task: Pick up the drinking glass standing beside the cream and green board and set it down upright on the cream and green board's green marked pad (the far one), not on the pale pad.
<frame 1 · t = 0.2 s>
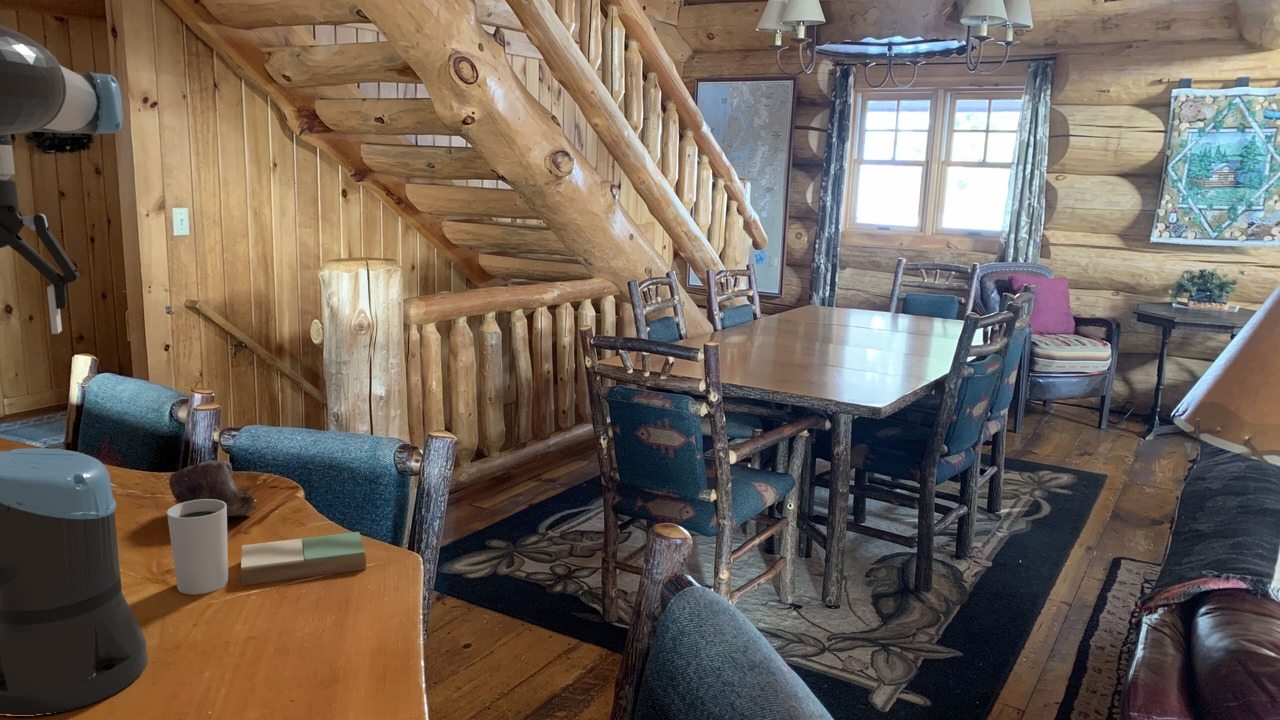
hand: (0, 334, 131), 28 cm above the table, tool pointing down, fingers open, 13 cm apart
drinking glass: (203, 585, 119), on the table
cream and green board: (303, 565, 125), on the table
rock: (211, 517, 142), on the table
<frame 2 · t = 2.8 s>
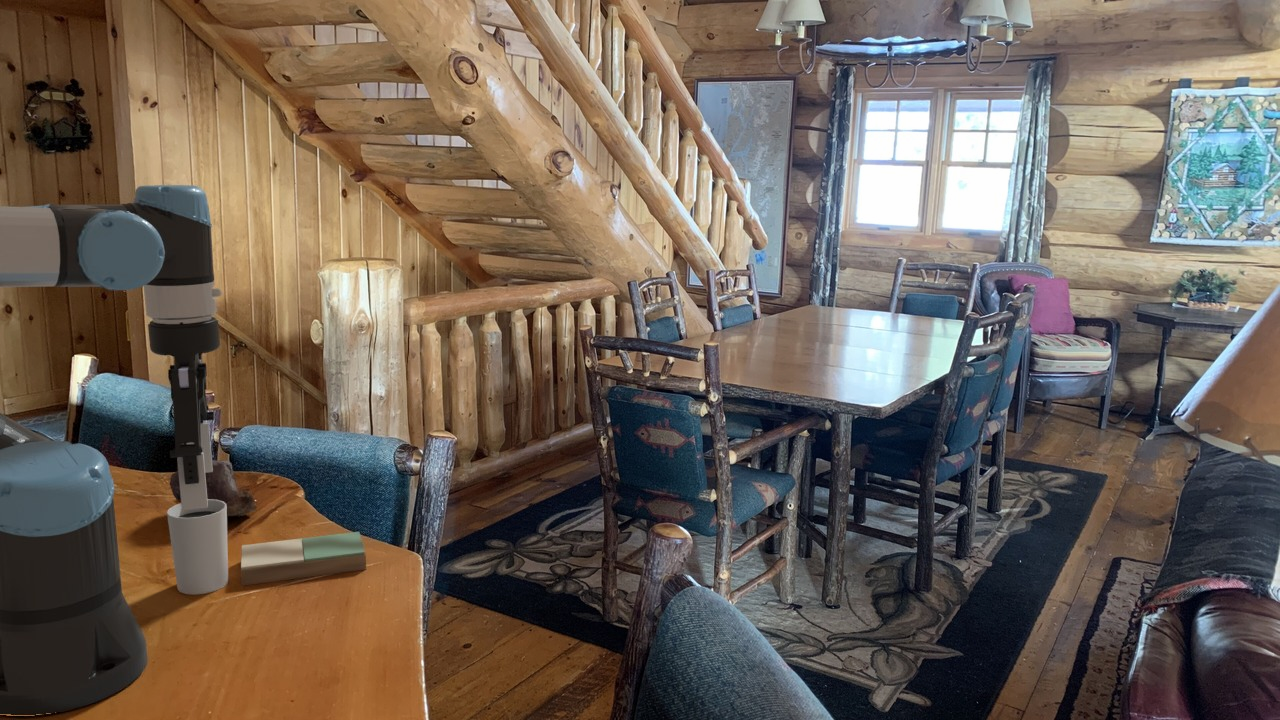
hand: (198, 489, 116), 12 cm above the table, tool pointing down, fingers open, 13 cm apart
nothing on the table moved.
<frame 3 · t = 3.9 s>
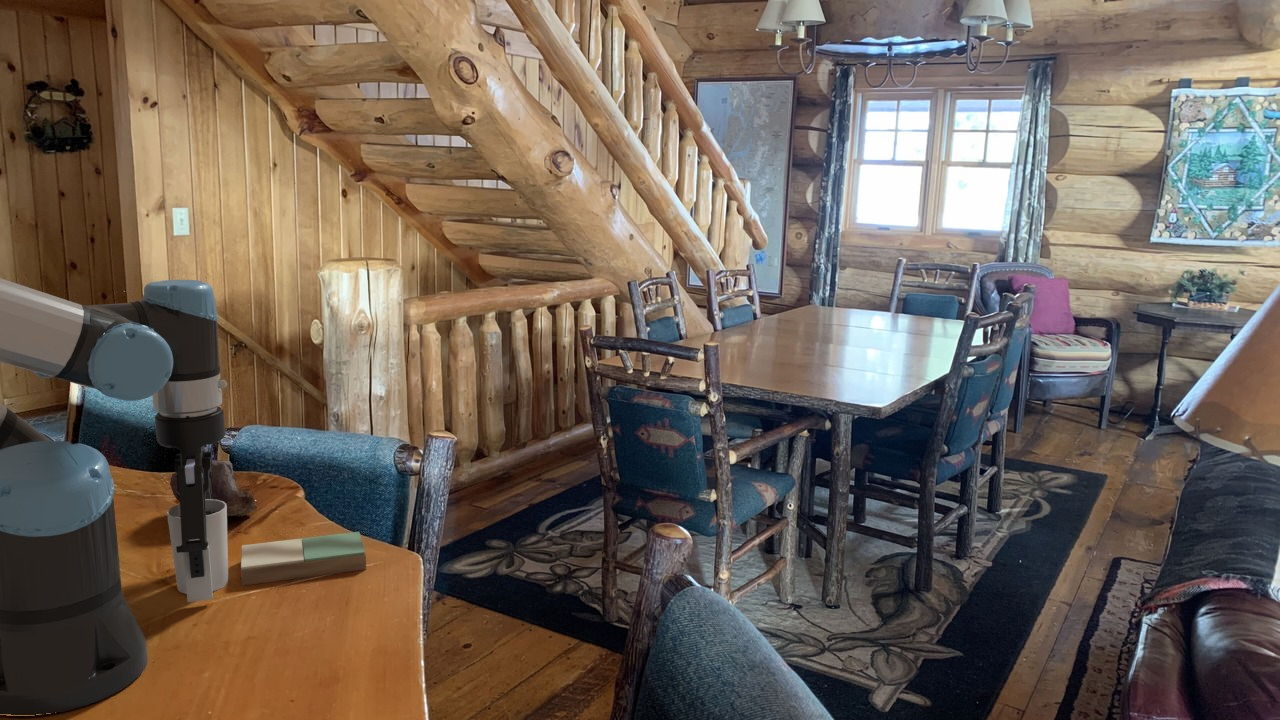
hand: (202, 579, 119), 1 cm above the table, tool pointing down, fingers open, 11 cm apart
nothing on the table moved.
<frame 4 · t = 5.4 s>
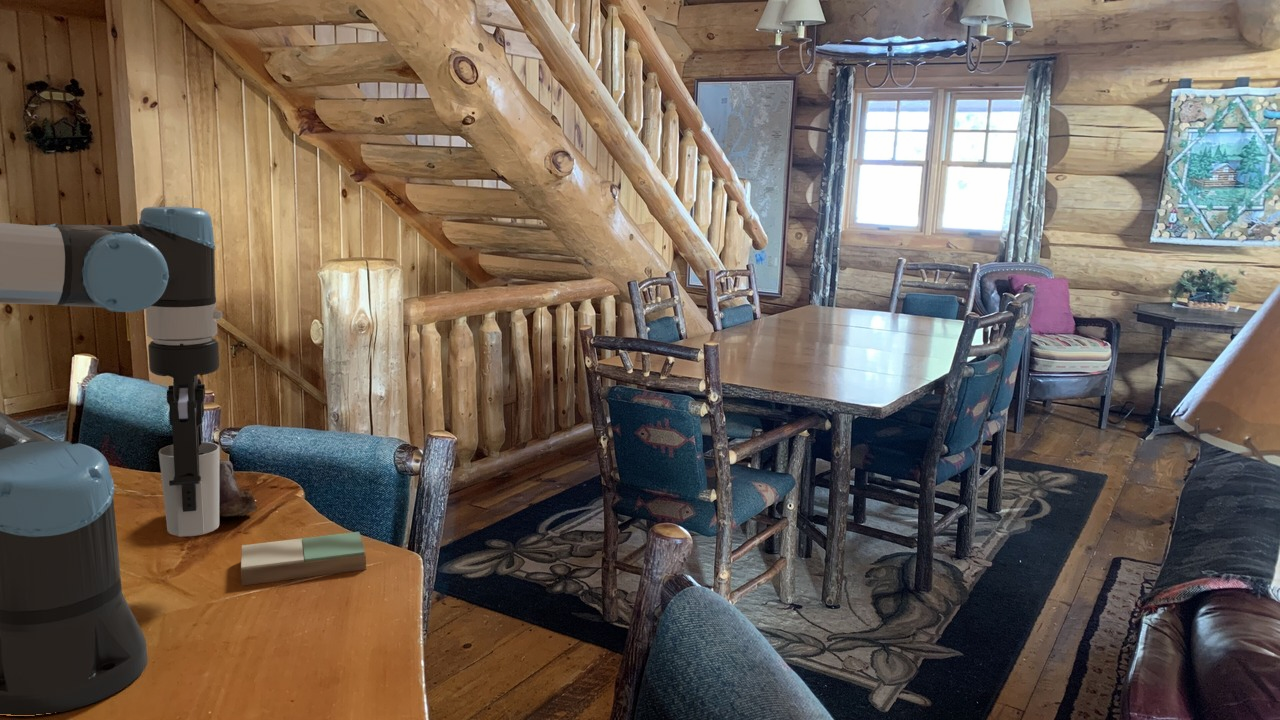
hand: (193, 524, 117), 8 cm above the table, tool pointing down, fingers closed on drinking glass, 6 cm apart
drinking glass: (193, 529, 117), point 7 cm above the table, touching gripper
everything else where it was.
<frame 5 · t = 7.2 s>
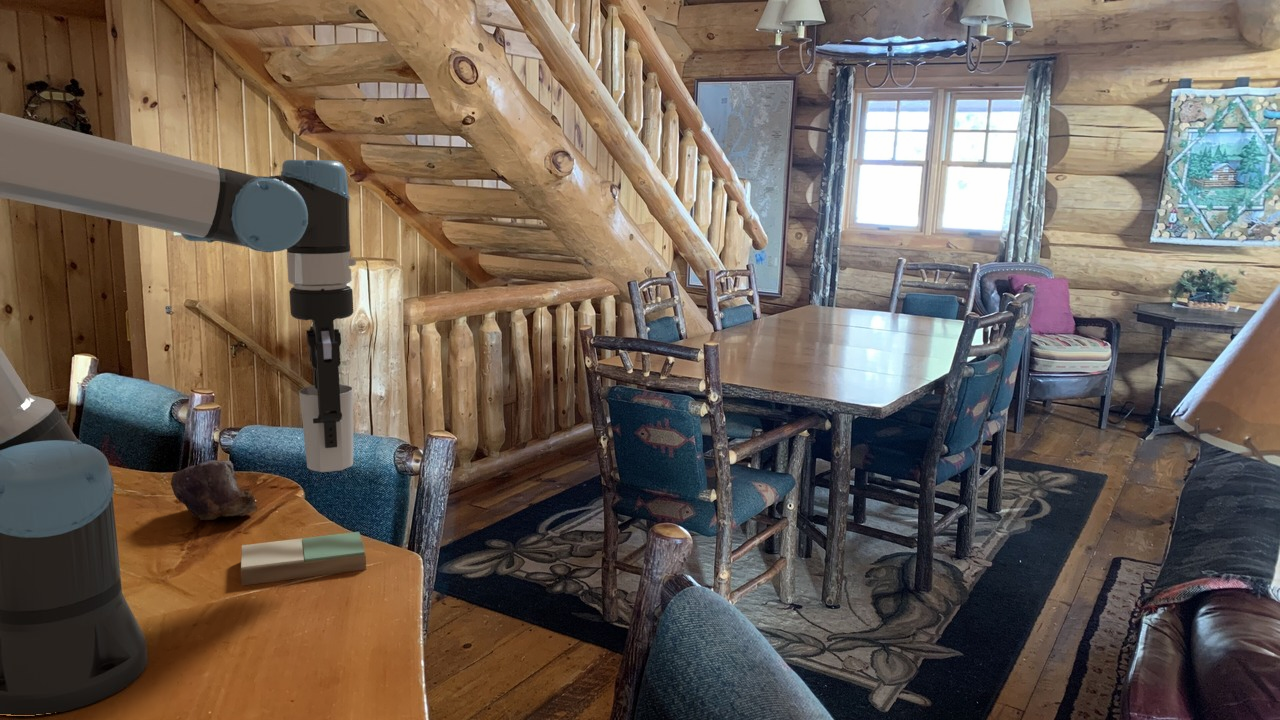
hand: (329, 462, 124), 14 cm above the table, tool pointing down, fingers closed on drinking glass, 6 cm apart
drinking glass: (330, 465, 124), point 13 cm above the table, touching gripper
everything else where it was.
when the fingers open (3 cm above the table, at t = 9.2 s): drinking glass stays where it is, resting on cream and green board.
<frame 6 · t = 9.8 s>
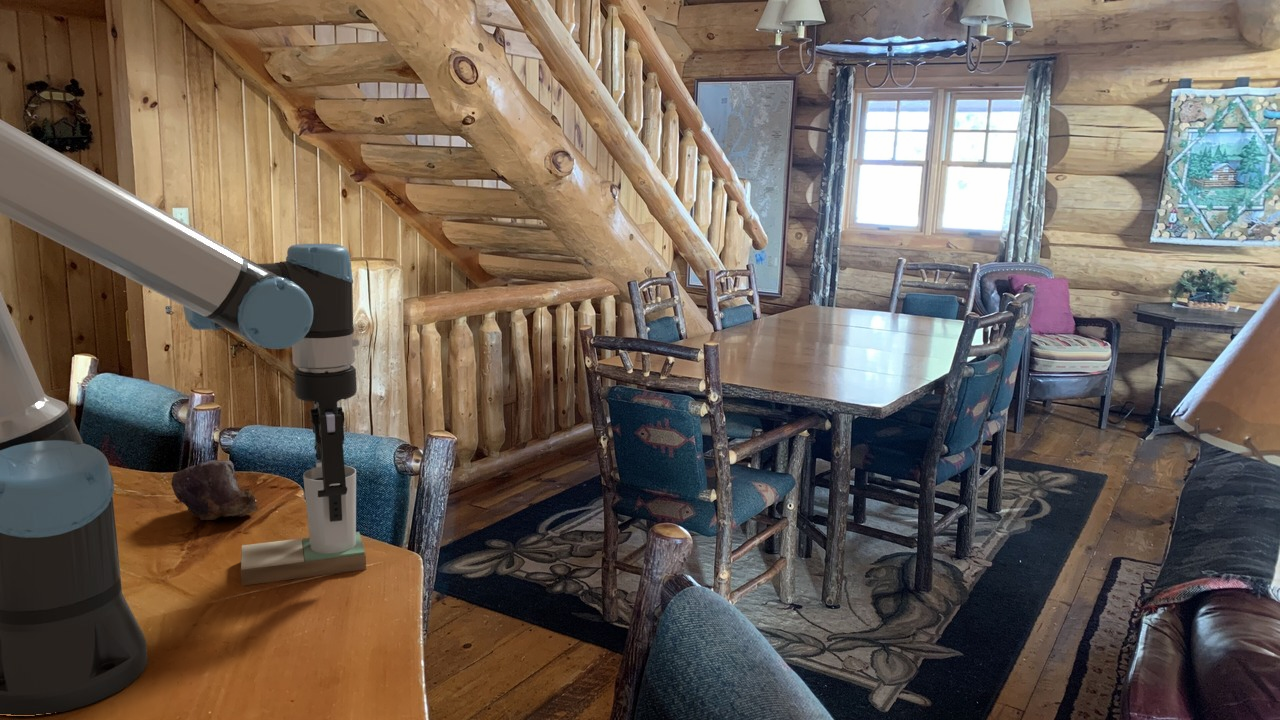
hand: (332, 524, 125), 5 cm above the table, tool pointing down, fingers open, 13 cm apart
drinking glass: (333, 546, 126), point 2 cm above the table, touching cream and green board
everything else where it was.
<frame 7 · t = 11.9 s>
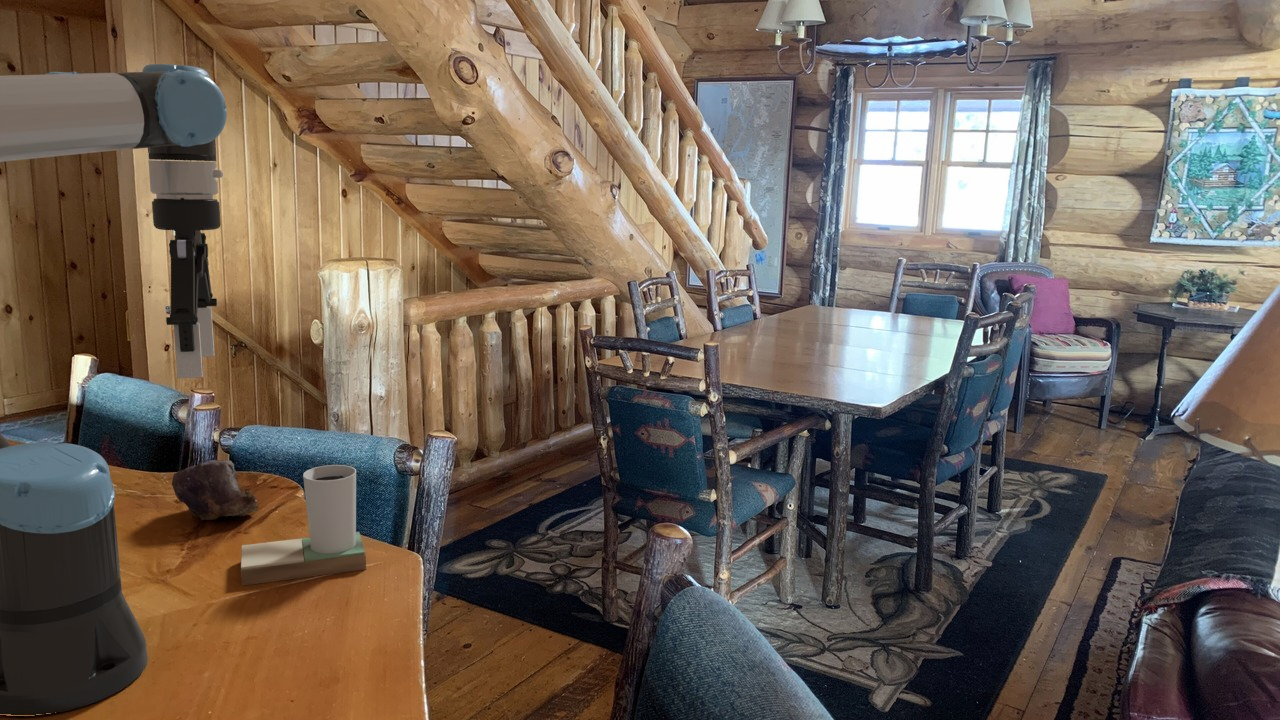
hand: (197, 366, 121), 26 cm above the table, tool pointing down, fingers open, 13 cm apart
nothing on the table moved.
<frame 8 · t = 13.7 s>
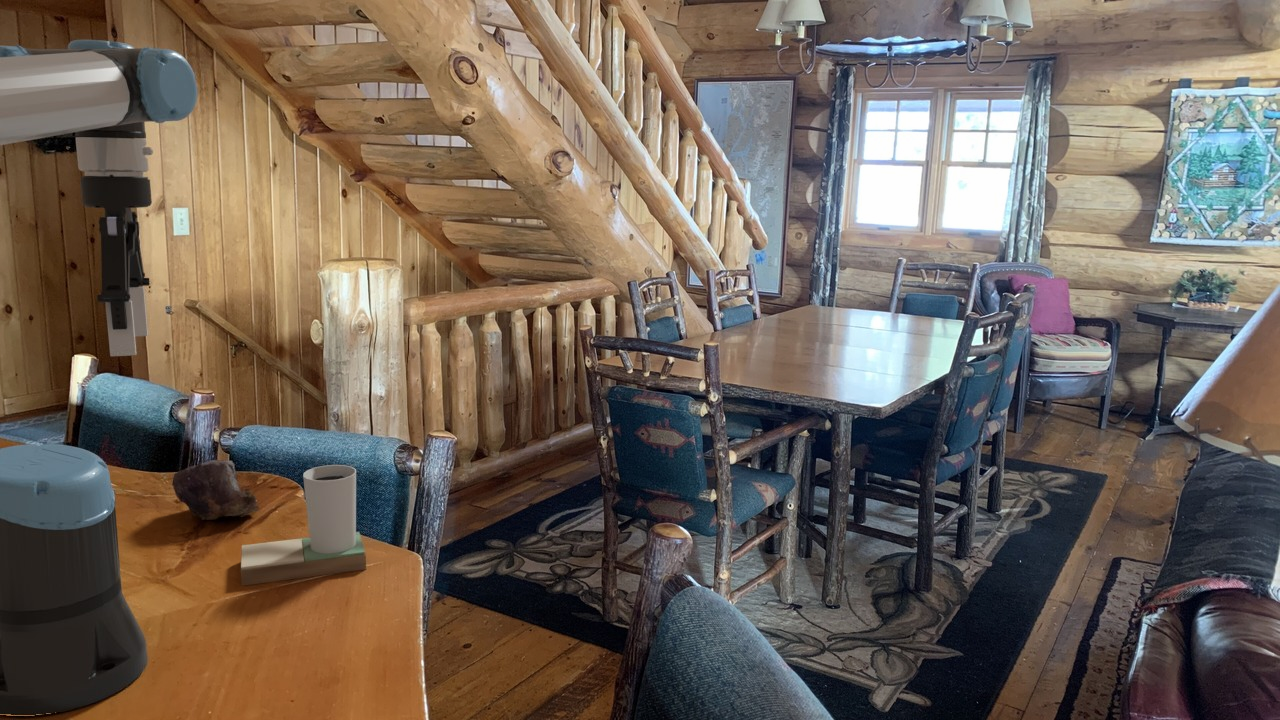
hand: (130, 345, 120), 29 cm above the table, tool pointing down, fingers open, 13 cm apart
nothing on the table moved.
at the end: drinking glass 0.0 cm from the target spot on the cream and green board, point 2.1 cm above the cream and green board's base; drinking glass tilted 0°; the gripper is holding nothing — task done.
